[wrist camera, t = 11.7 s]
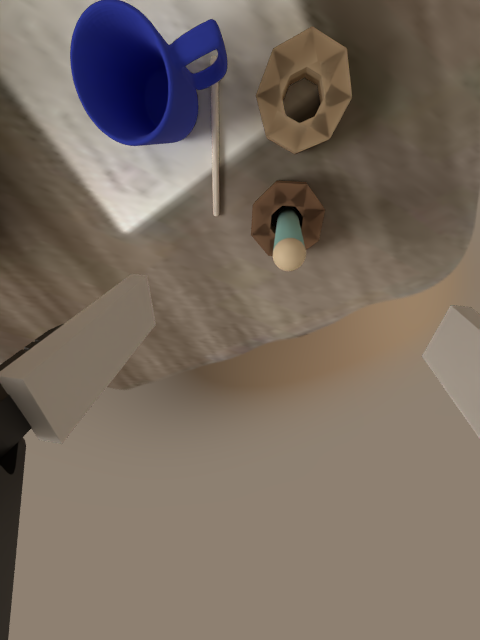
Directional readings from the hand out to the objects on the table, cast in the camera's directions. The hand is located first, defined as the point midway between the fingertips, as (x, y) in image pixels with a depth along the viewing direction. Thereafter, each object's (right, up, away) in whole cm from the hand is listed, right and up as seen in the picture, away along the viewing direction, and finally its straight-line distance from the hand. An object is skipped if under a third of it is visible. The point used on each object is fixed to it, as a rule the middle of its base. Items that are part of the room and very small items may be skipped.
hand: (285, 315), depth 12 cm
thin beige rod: (-5, +20, +17) cm, 27 cm away
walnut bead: (+4, +13, +20) cm, 24 cm away
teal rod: (+4, +13, +20) cm, 24 cm away
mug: (-8, +24, +16) cm, 30 cm away
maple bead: (+4, +22, +14) cm, 27 cm away
